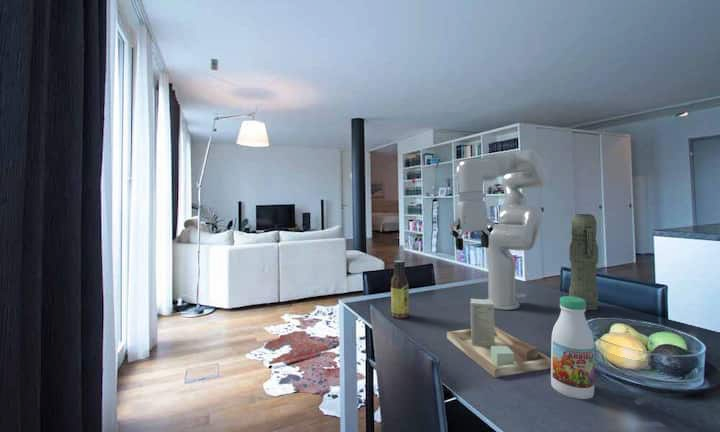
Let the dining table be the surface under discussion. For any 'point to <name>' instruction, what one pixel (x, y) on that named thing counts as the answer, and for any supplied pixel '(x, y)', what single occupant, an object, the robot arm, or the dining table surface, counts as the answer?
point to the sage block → (501, 355)
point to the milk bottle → (572, 351)
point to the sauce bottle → (399, 291)
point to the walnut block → (524, 352)
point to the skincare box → (482, 322)
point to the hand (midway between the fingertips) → (472, 248)
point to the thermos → (584, 260)
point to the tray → (484, 353)
